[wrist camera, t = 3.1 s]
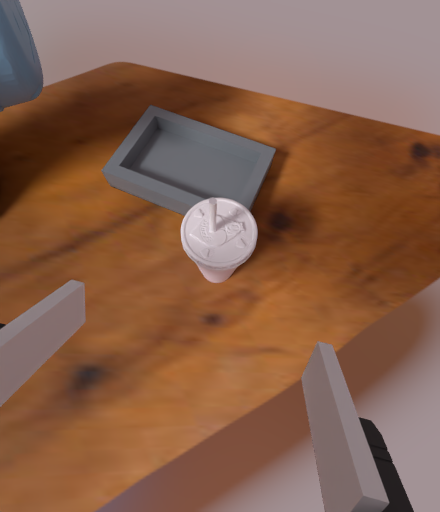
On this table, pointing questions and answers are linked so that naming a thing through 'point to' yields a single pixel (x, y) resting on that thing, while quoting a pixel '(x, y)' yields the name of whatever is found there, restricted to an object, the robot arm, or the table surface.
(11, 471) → the table surface
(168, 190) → the tray
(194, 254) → the smoothie
